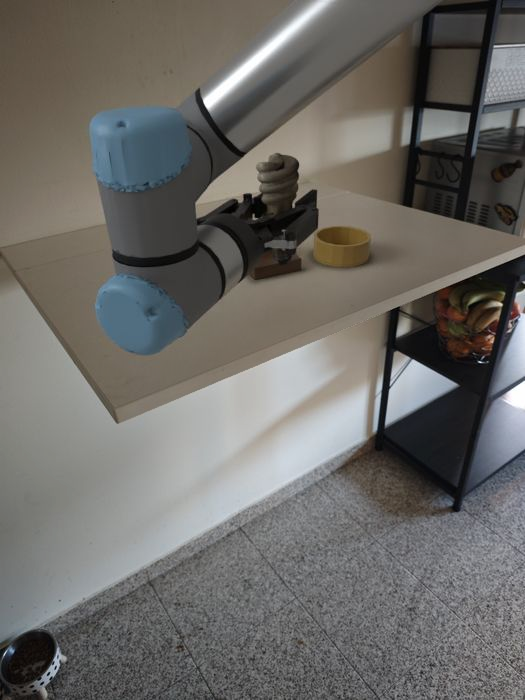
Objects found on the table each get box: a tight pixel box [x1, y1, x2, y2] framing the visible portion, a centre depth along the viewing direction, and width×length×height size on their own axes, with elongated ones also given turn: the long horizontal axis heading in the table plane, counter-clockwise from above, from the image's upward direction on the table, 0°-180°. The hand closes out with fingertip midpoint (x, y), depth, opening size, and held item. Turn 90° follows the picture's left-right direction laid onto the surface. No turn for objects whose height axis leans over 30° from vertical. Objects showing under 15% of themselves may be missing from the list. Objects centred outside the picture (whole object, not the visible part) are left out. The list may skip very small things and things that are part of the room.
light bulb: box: [255, 152, 300, 265], centre depth 67 cm, size 6×6×15 cm
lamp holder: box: [312, 225, 372, 268], centre depth 92 cm, size 10×10×4 cm
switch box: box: [248, 251, 302, 281], centre depth 90 cm, size 12×9×4 cm
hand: (294, 197), depth 71 cm, fingers closed on light bulb, 5 cm apart
